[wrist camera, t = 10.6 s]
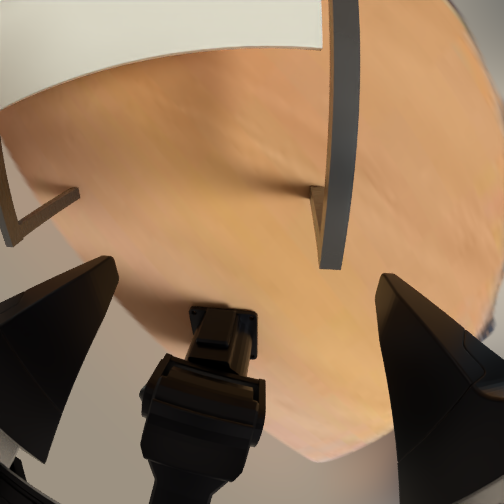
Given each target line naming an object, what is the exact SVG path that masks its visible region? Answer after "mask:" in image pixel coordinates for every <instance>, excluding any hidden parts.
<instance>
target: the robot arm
mask: <svg viewBox="0 0 504 504" xmlns="http://www.w3.org/2000/svg"><path fill="white" fill-rule="evenodd" d="M118 281H119V275H118V271H117V268H116V264H115V261H114V258H113V257H112V256H100V257H98V258H95V259H93V260H91V261H89V262H86V263H84V264H82V265H80V266H77V267H75V268H73V269H71V270H68V271H66V272H64V273H62V274H60V275H57V276H55V277H53V278H51V279H49V280H47V281H45V282H43V283H40V284H38V285H36V286H34V287H32V288H30V289H28V290H26V291H25V292H22V293H20V294H18V295H16V296H13V297H12V298H9V299H7V300H5V301H3V302H1V303H0V504H60V503H59V502H57V501H55V500H53V499H52V498H50V497H49V496H47V495H45V494H44V493H42V492H41V491H39V490H38V489H36V488H35V487H33V486H32V485H30V484H29V483H28V482H27V481H26V477H25V474H24V470H23V466H22V462H21V460H20V459H18V458H17V457H16V454H17V452H18V450H19V448H21V449H22V450H23V451H25V452H26V453H28V454H29V455H31V456H32V457H34V458H35V459H37V460H38V461H40V462H42V463H43V464H45V462H46V460H47V457H48V453H49V450H50V447H51V444H52V441H53V438H54V435H55V433H56V430H57V427H58V424H59V421H60V418H61V416H62V413H63V410H64V407H65V405H66V402H67V400H68V397H69V395H70V392H71V389H72V387H73V384H74V382H75V380H76V378H77V375H78V373H79V371H80V368H81V366H82V364H83V361H84V359H85V357H86V355H87V353H88V350H89V348H90V346H91V344H92V342H93V340H94V338H95V335H96V333H97V331H98V329H99V327H100V325H101V323H102V321H103V319H104V317H105V314H106V312H107V309H108V307H109V304H110V302H111V299H112V297H113V294H114V292H115V289H116V287H117V284H118ZM375 305H376V313H377V323H378V333H379V341H380V347H381V352H382V357H383V362H384V367H385V372H386V378H387V384H388V390H389V396H390V402H391V409H392V416H393V424H394V432H395V440H396V450H397V461H398V478H399V496H400V497H399V498H400V504H504V359H502V358H501V357H500V356H498V355H497V354H496V353H494V352H493V351H492V350H490V349H489V348H488V347H487V346H485V345H484V344H483V343H482V342H480V341H479V340H478V339H477V338H475V337H474V336H473V335H472V334H471V333H469V332H468V331H467V330H465V329H464V328H463V327H462V326H461V325H460V324H458V323H457V322H456V321H455V320H454V319H452V318H451V317H450V316H449V315H447V314H446V313H445V312H444V311H442V310H441V309H440V308H439V307H437V306H436V305H435V304H433V303H432V302H431V301H430V300H428V299H427V298H426V297H424V296H423V295H422V294H421V293H419V292H418V291H417V290H415V289H414V288H413V287H411V286H410V285H409V284H407V283H406V282H405V281H403V280H402V279H401V278H399V277H398V276H397V275H395V274H393V273H383V274H382V275H381V277H380V280H379V284H378V287H377V291H376V295H375ZM194 311H195V312H194ZM189 315H190V320H191V325H192V331H193V338H192V341H191V344H190V346H189V349H188V352H187V355H186V357H185V360H183V359H180V358H177V357H174V356H173V355H171V354H168V353H166V355H165V356H164V358H163V359H161V361H160V362H159V364H158V366H157V367H156V369H155V371H154V372H153V374H152V376H151V377H150V379H149V381H148V382H147V384H146V385H145V386H144V387H143V388H142V389H141V391H140V393H139V397H140V399H141V401H142V417H145V418H146V422H145V426H144V430H143V434H142V439H141V444H140V445H141V450H142V454H143V457H144V458H145V459H148V462H149V465H150V467H151V470H152V473H153V476H154V478H155V481H154V486H153V490H152V494H151V497H150V502H149V504H210V502H211V498H212V495H213V494H214V493H215V492H217V491H218V490H219V489H220V488H221V487H223V486H224V485H225V484H226V483H227V482H228V481H229V482H233V481H234V480H235V479H236V478H237V477H238V476H239V475H240V474H241V473H242V471H243V468H244V466H245V462H246V459H247V455H248V451H249V448H250V446H251V447H255V446H256V445H257V444H258V441H259V439H260V436H261V433H262V430H263V426H264V421H265V412H266V384H265V380H263V379H254V378H250V377H247V372H248V366H249V360H250V359H256V358H257V345H258V315H257V313H255V312H251V311H239V310H227V309H216V308H206V307H196V306H192V307H191V308H190V310H189ZM251 316H252V317H253V318H252V317H251Z"/></svg>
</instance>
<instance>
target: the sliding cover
mask: <svg viewBox="0 0 504 504" xmlns="http://www.w3.org/2000/svg"><path fill="white" fill-rule="evenodd" d="M254 48H282V49H306V50H320V51H321V50H322V11H321V0H0V111H1V110H3V109H5V108H7V107H9V106H11V105H13V104H15V103H17V102H19V101H21V100H24V99H26V98H28V97H30V96H33V95H35V94H37V93H40V92H42V91H45V90H47V89H50V88H52V87H55V86H58V85H60V84H63V83H66V82H69V81H72V80H74V79H77V78H81V77H84V76H87V75H90V74H93V73H97V72H100V71H104V70H107V69H111V68H115V67H119V66H123V65H127V64H132V63H136V62H141V61H146V60H151V59H156V58H162V57H168V56H174V55H181V54H188V53H196V52H205V51H216V50H230V49H254Z"/></svg>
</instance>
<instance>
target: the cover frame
mask: <svg viewBox="0 0 504 504" xmlns="http://www.w3.org/2000/svg"><path fill="white" fill-rule="evenodd" d="M328 3H329V31H330V92H329V123H328V144H327V161H326V175H325V188H324V187H317V186H311V187H310V204H311V210H312V216H313V223H314V229H315V236H316V243H317V250H318V261H319V269H333V270H341V265H342V260H343V254H344V248H345V241H346V235H347V228H348V221H349V213H350V206H351V198H352V189H353V180H354V170H355V160H356V148H357V134H358V118H359V95H360V27H359V6H358V0H328ZM79 198H80V194H79V189H78V188H70V189H69V190H67V191H65V192H63V193H62V194H60V195H58V196H57V197H55V198H53V199H52V200H50V201H49V202H47V203H45V204H44V205H42V206H41V207H39V208H38V209H36V210H34V211H33V212H31V213H30V214H28V215H27V216H25V217H24V218H22V219H21V220H20V221H18V220H17V216H16V213H15V209H14V205H13V201H12V197H11V193H10V189H9V184H8V180H7V175H6V170H5V164H4V159H3V152H2V145H1V138H0V229H1V232H2V235H3V238H4V241H5V244H6V246H7V247H14V246H15V245H16V244H18V243H19V242H20V241H22V240H23V237H25V236H26V235H27V234H29V233H30V232H31V231H33V230H34V229H35V228H37V227H38V226H40V225H41V224H42V223H44V222H45V221H47V220H48V219H49V218H51V217H52V216H54V215H55V214H57V213H58V212H60V211H61V210H63V209H64V208H65V207H67V206H68V205H70V204H72V203H73V202H75V201H76V200H78V199H79Z"/></svg>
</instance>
